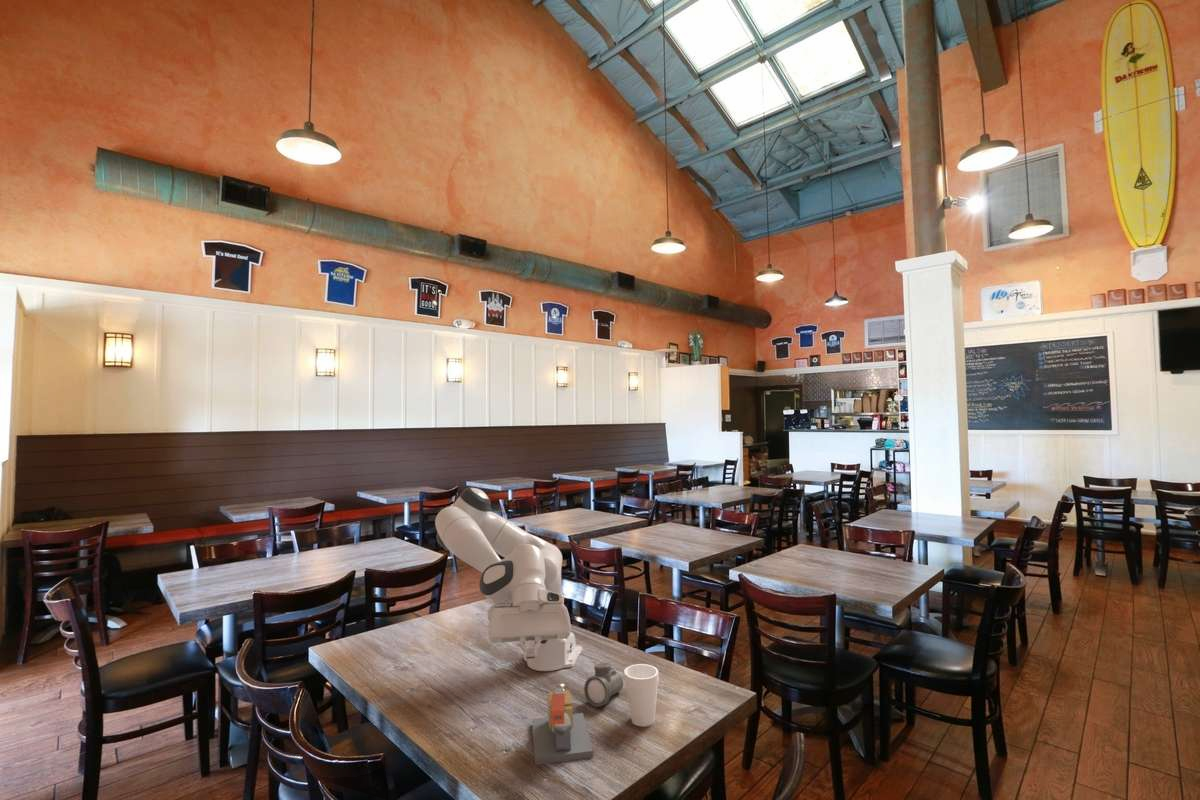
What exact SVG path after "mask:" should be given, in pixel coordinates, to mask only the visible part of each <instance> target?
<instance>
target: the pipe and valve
mask: <svg viewBox="0 0 1200 800" xmlns="http://www.w3.org/2000/svg"><path fill="white" fill-rule="evenodd" d="M552 694H555V690H554V688H553V689H552V690H550V691H548V693H547V694H546V695H547V717H548V721H549V729H550V730H552V732H555V747H556V752H563V751H571V734H570V730H573V728H572V727H573V714H574V708H573V707H574V703H573V698H572V694H571V691H570V690H569V689H565V690H564V691H563V694H565V716H564V724H552V725H551V704H552Z"/></svg>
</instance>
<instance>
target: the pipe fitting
mask: <svg viewBox="0 0 1200 800" xmlns="http://www.w3.org/2000/svg"><path fill="white" fill-rule="evenodd" d="M593 668H594V671H595V673H594V675H593V676H590V677H589V678H587V680H586V681H585V684H584V687H583V690H584V691H583V692H584V696H585V698H586V700H587V702H588V703H589V704H590V705H591V706H592V707H595V708H600V707H603V706H604V705H606V704H607V703H608V702H609V700H610V699H611V697H612V696H614V695H616V694H617V693H619V692H621V690H622V689H623V687H624V679H623V677H622V675H621V674H620V673H619V672H618V671H616V668H614V667H612V664H611V663H610V662H598V663H595V664H594V666H593Z"/></svg>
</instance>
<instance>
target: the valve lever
mask: <svg viewBox="0 0 1200 800" xmlns="http://www.w3.org/2000/svg"><path fill="white" fill-rule="evenodd" d="M553 689H554V690H555V694H552V704H551V725H552V724H564V716H565V694H563V691H564V690H566V683H565V682H563V681H556V682H555V683H554V685H553Z"/></svg>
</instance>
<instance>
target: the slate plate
mask: <svg viewBox="0 0 1200 800" xmlns="http://www.w3.org/2000/svg"><path fill="white" fill-rule="evenodd" d="M531 723H532V724H531V726H532V740H533V741H532V743H533V752H534V753H533V755H534V766H536V765H537V766H538V765H544V764H552V763H559V762H566V761H567V762H568V761H575V760H581V759H590V758H594V754H593V752H594V750H593V747H592V743H591V739H590V735H589V731H588V727H587V724H586V719H585V715H584V712H581V713H580V712H579V713H573V727H572V728H573V730H570V734H571V751H563V752H556V747H555V732H552V730H550V729H549V721H548V716H547V717H538V718H537V717H536V718H532V719H531Z"/></svg>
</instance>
